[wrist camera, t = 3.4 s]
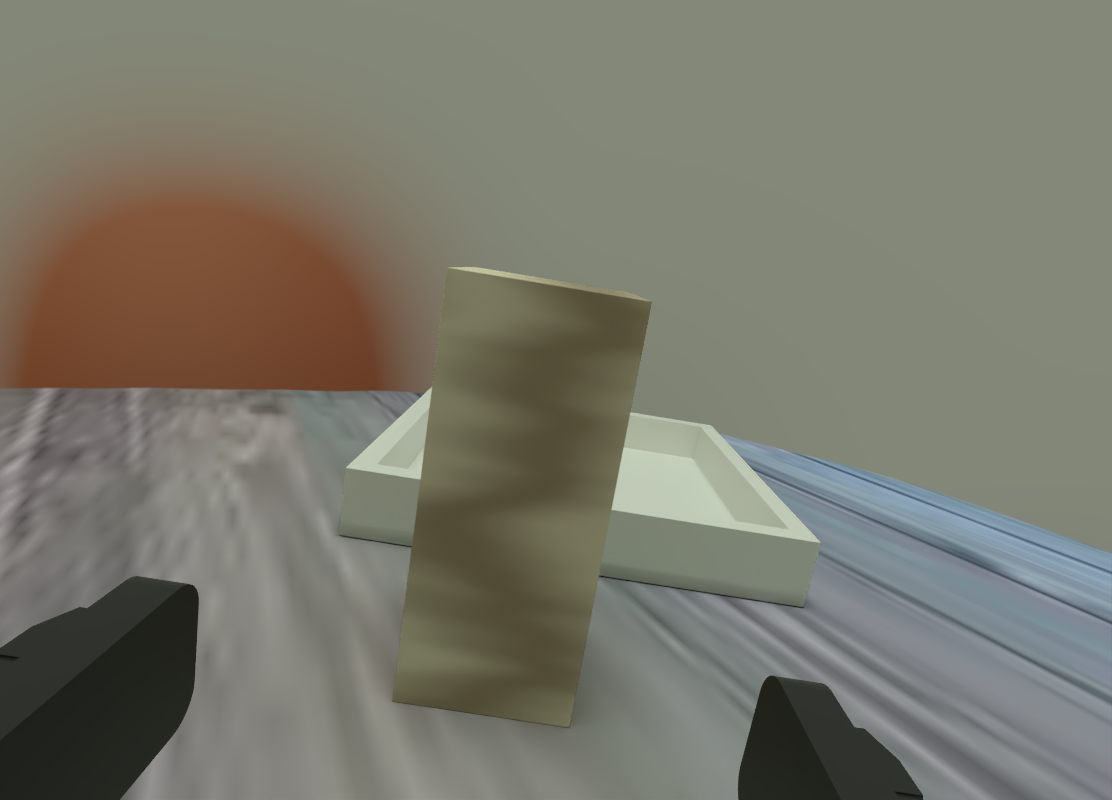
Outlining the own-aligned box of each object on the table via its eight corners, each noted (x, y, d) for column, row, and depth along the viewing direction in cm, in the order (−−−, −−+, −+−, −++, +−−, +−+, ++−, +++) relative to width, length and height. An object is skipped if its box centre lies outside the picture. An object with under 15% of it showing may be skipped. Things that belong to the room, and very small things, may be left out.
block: (392, 701, 18) (447, 267, 15) (428, 607, 23) (474, 267, 20) (569, 727, 18) (651, 301, 15) (567, 628, 23) (629, 293, 20)
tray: (339, 535, 27) (345, 467, 26) (433, 421, 46) (438, 381, 46) (803, 607, 27) (821, 543, 27) (702, 464, 47) (711, 425, 46)
